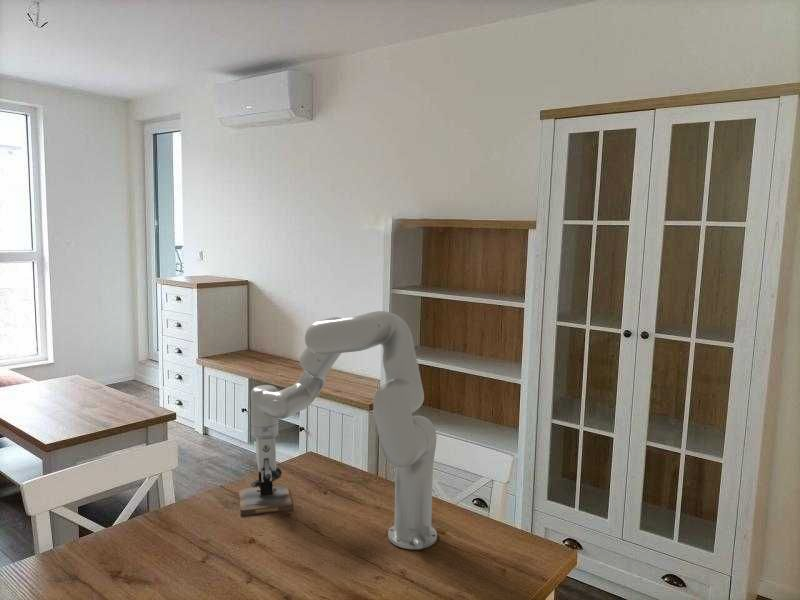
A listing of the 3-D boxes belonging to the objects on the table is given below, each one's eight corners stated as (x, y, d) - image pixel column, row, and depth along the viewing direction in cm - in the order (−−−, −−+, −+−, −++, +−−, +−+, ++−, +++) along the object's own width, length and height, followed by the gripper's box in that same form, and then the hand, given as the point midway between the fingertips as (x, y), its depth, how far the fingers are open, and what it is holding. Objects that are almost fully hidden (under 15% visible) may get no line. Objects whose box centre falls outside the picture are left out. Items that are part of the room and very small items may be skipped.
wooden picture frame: (292, 510, 164) (292, 504, 164) (240, 516, 160) (240, 510, 160) (286, 488, 178) (286, 483, 178) (239, 493, 174) (239, 488, 174)
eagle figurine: (280, 495, 166) (288, 476, 174) (265, 476, 164) (273, 458, 173) (259, 507, 167) (268, 488, 176) (243, 488, 166) (253, 470, 174)
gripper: (281, 438, 160) (281, 499, 161) (275, 419, 176) (276, 475, 178) (252, 440, 157) (253, 503, 159) (249, 421, 174) (250, 477, 176)
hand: (265, 487), depth 169 cm, fingers closed on eagle figurine, 8 cm apart
